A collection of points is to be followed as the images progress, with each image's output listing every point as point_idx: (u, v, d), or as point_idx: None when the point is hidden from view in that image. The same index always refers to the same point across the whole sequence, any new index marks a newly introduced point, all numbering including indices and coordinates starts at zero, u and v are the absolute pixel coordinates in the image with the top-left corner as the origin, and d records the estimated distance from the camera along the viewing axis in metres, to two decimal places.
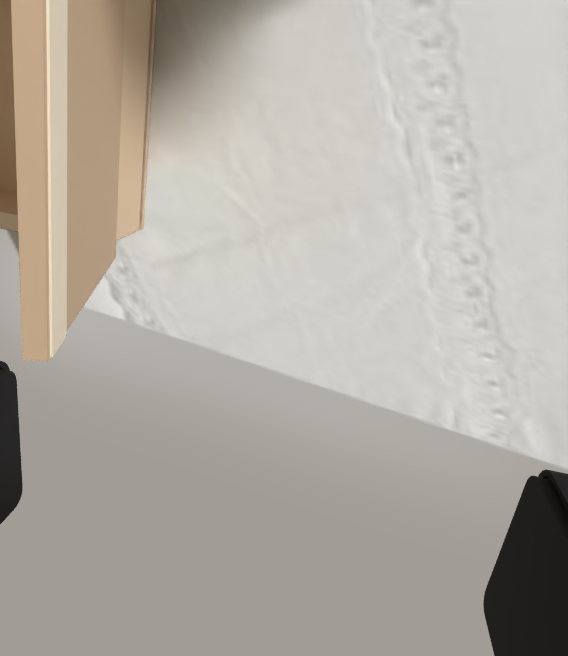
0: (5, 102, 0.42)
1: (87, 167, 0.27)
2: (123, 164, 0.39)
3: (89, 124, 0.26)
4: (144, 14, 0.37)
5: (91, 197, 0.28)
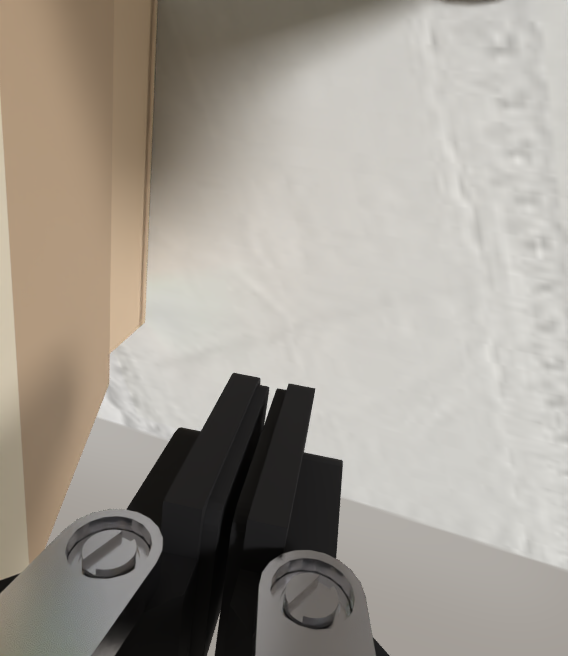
0: None
1: (59, 331, 0.18)
2: (117, 261, 0.31)
3: (59, 273, 0.18)
4: (140, 72, 0.29)
5: (68, 361, 0.20)
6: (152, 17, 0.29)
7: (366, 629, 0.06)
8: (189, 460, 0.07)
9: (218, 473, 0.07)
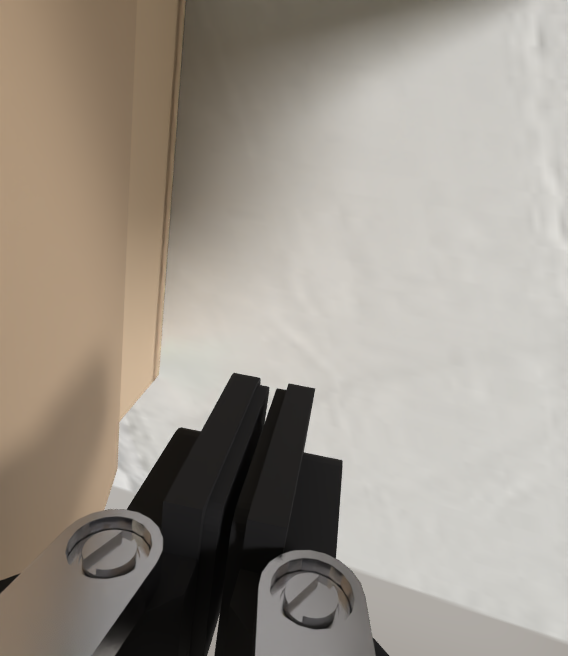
0: None
1: (43, 470, 0.12)
2: (129, 312, 0.24)
3: (45, 386, 0.11)
4: (163, 75, 0.23)
5: (58, 497, 0.14)
6: (180, 5, 0.23)
7: (366, 629, 0.06)
8: (189, 460, 0.07)
9: (217, 474, 0.07)
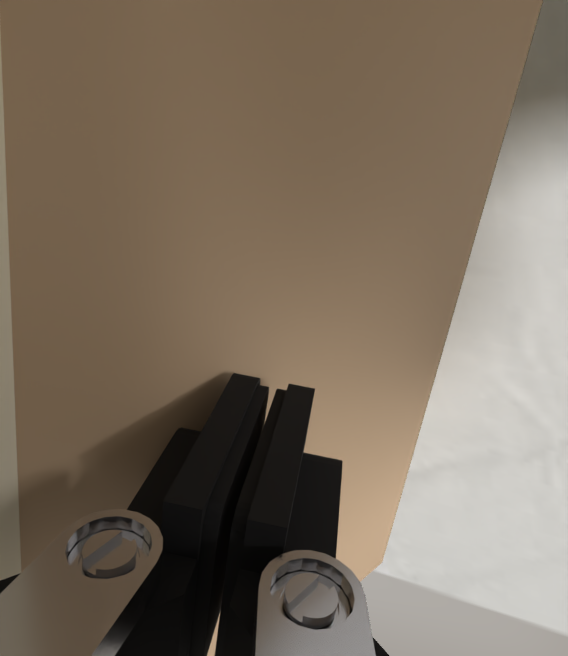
0: None
1: None
2: None
3: None
4: None
5: None
6: None
7: (366, 629, 0.06)
8: (189, 460, 0.07)
9: (217, 474, 0.07)
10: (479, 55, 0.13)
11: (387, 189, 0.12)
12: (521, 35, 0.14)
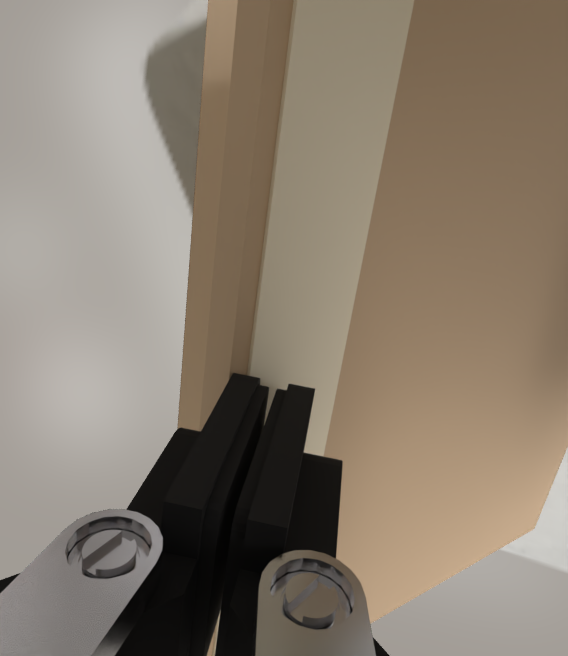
0: None
1: (433, 438, 0.15)
2: None
3: (457, 375, 0.15)
4: None
5: (442, 475, 0.17)
6: None
7: (366, 629, 0.06)
8: (189, 460, 0.07)
9: (217, 474, 0.07)
10: None
11: None
12: None
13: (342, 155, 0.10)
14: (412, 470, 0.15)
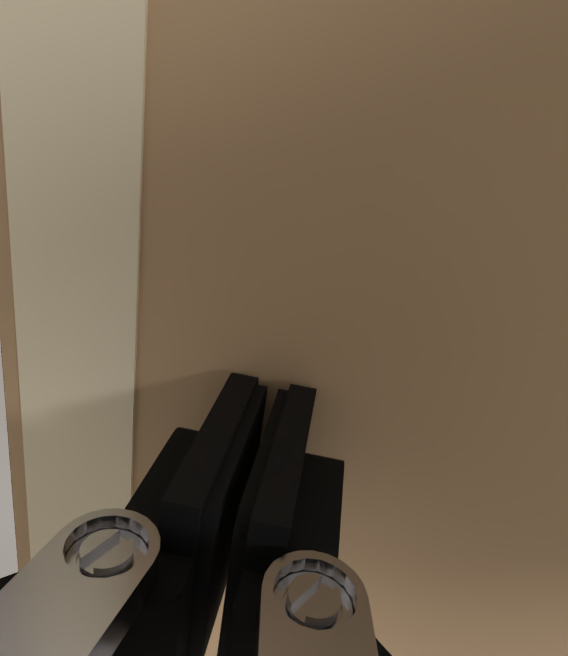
0: None
1: None
2: None
3: (361, 444, 0.11)
4: None
5: None
6: None
7: (369, 629, 0.06)
8: (187, 459, 0.07)
9: (215, 473, 0.07)
10: None
11: None
12: None
13: (89, 103, 0.09)
14: None
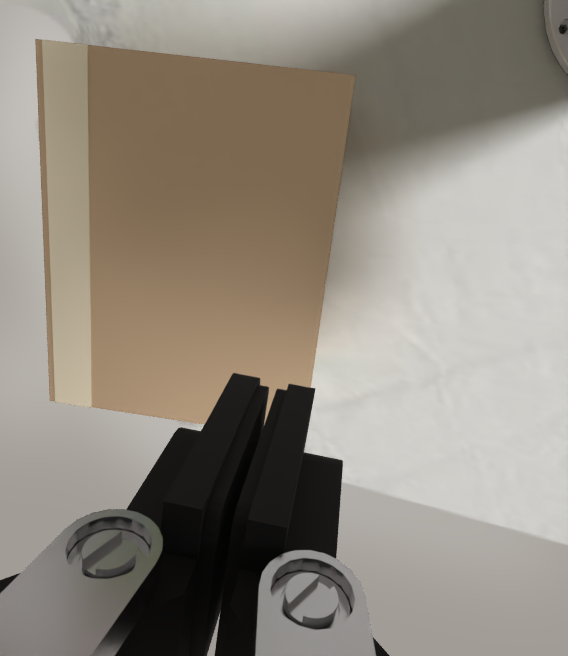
0: None
1: (161, 309, 0.32)
2: None
3: (167, 276, 0.31)
4: None
5: (177, 337, 0.32)
6: None
7: (366, 629, 0.06)
8: (189, 460, 0.07)
9: (217, 474, 0.07)
10: (292, 134, 0.28)
11: (235, 191, 0.29)
12: (334, 121, 0.27)
13: (73, 166, 0.29)
14: (151, 322, 0.32)
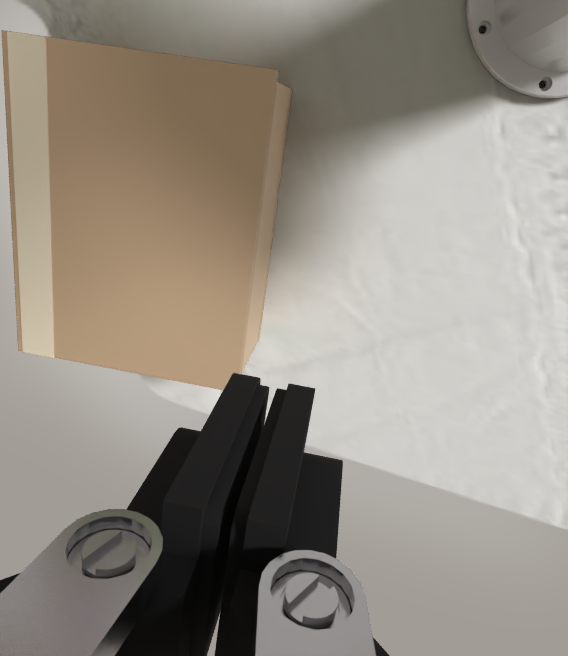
0: None
1: (112, 272, 0.36)
2: (256, 293, 0.40)
3: (117, 243, 0.35)
4: (279, 152, 0.38)
5: (127, 298, 0.36)
6: (288, 109, 0.39)
7: (366, 629, 0.06)
8: (189, 460, 0.07)
9: (217, 474, 0.07)
10: (222, 120, 0.31)
11: (174, 169, 0.33)
12: (258, 110, 0.31)
13: (35, 143, 0.34)
14: (104, 283, 0.36)
